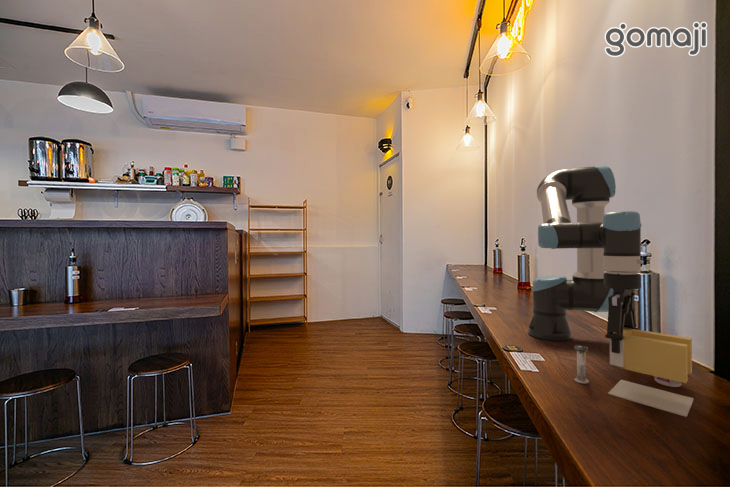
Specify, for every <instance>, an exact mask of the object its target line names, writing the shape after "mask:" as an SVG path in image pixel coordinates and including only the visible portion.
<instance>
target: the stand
mask: <svg viewBox="0 0 730 487" xmlns="http://www.w3.org/2000/svg"><path fill="white" fill-rule="evenodd" d="M574 349H575V351H576V376H575V377H574V382H575V383H577V384H582V385H588V384H589V379H588V378H587V368H586V367H587V363H586V361H587V360H586V359H587V352H588V351H589V346H587V345H584V344H583V345H582V344H575V345H574Z"/></svg>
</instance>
